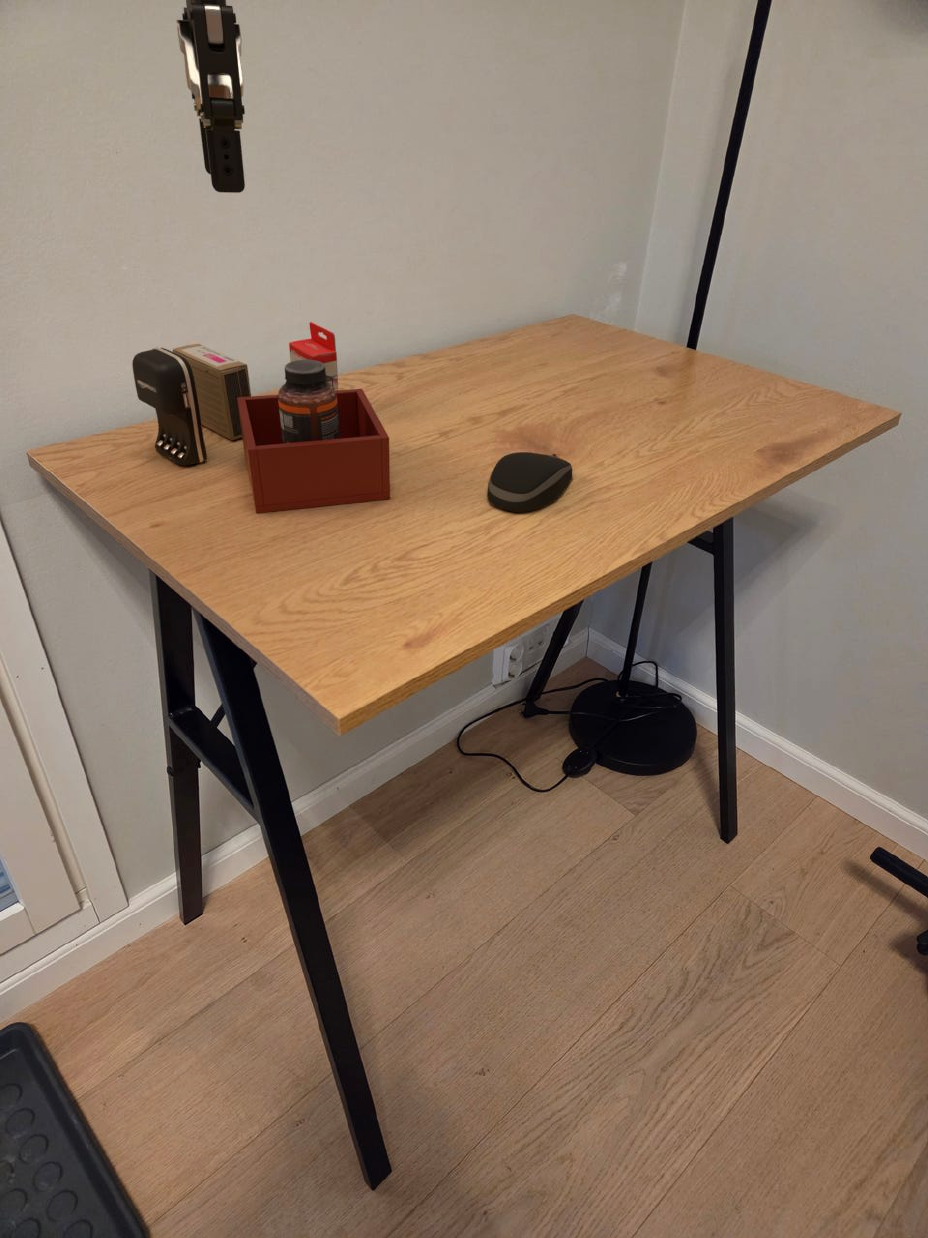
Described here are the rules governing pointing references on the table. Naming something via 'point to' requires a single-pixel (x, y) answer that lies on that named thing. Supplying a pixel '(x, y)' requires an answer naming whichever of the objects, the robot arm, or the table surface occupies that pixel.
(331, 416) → the supplement bottle
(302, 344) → the ink box
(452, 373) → the table surface
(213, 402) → the ink box
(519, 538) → the table surface
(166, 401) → the battery charger
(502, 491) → the computer mouse
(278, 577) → the table surface
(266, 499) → the tote
